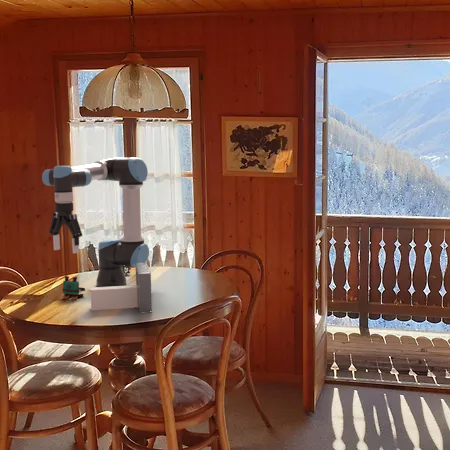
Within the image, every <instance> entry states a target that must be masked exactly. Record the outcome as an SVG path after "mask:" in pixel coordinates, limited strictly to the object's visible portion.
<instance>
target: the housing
mask: <svg viewBox="0 0 450 450" xmlns="http://www.w3.org/2000/svg"><path fill="white" fill-rule="evenodd" d="M151 274H152V273H151V271H150V269H149V266H148V264H147V262H146V263H136V267H135V285H138V297H139V307H138V310H139V314H142V313H141V312H148V313H151V312H150V311H152V312H153V301H152V275H151Z"/></svg>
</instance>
